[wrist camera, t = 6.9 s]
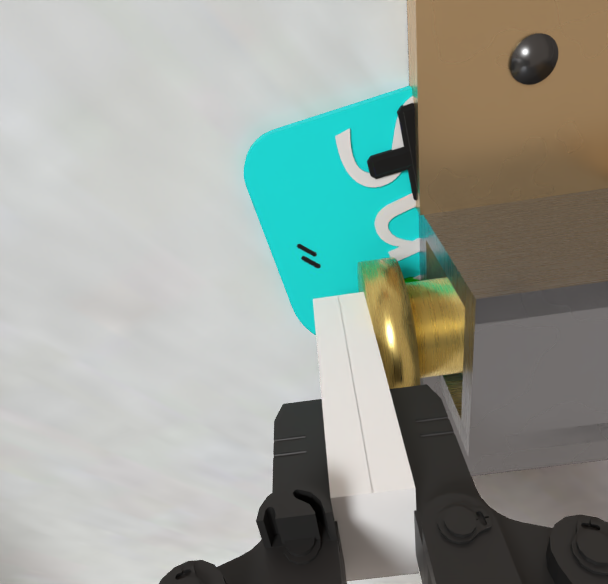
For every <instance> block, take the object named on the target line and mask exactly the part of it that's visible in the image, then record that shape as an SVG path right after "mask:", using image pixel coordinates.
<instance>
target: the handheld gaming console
mask: <svg viewBox="0 0 608 584" xmlns="http://www.w3.org/2000/svg"><path fill="white" fill-rule="evenodd" d="M244 179H245V183H246V187H247V189H248V192H249V195H250V197H251V200H252V203H253V205H254V208H255V211H256V213H257V216H258V218H259V221H260V224H261V226H262V229H263V232H264V234H265V237H266V239H267V242H268V245H269V247H270V250H271V253H272V255H273V258H274V260H275V263H276V266H277V268H278V271H279V274H280V276H281V279H282V281H283V284H284V287H285V289H286V292H287V295H288V297H289V300H290V303H291V305H292V308H293V310H294V312H295V314H296V316H297V317H298V319H299V320H300V322H301V323H302V324H303V325H304V326H305V327H306V328H307V329H308V330H309V331H310V332H312V333H313V334H315V335H316V330H315V319H314V307H313V299H315V298H323V297H330V296H337V295H344V294H351V293H359V289H358V273H357V267H358V262H361V261H369V260H376V259H383V258H390V257H394V258H395V259H396V260H397V262H398V264H399V266H400V269H401V271H402V274H403V277H404V281H405V283H408V282H415V281H420V257H419V251H420V238H419V213H418V211H417V209H416V208H415V207H416V200H417V181H416V138H415V107H414V103H413V96H412V88H411V87H410V86H407V87H404V88H401V89H398V90H395V91H392V92H388V93H385V94H382V95H379V96H376V97H373V98H370V99H367V100H364V101H361V102H357V103H354V104H351V105H348V106H345V107H342V108H339V109H336V110H333V111H329V112H326V113H323V114H320V115H317V116H314V117H311V118H308V119H305V120H302V121H298V122H295V123H292V124H289V125H286V126H283V127H280V128H277V129H274V130H271V131H269V132H267V133H265V134H263V135H262V136H260V137H259V138H258V139H257V140H256V141H255V142H254V143H253V145H252V146H251V147H250V149H249V151H248V154H247V156H246V161H245V165H244Z"/></svg>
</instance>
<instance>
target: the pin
mask: <svg viewBox="0 0 608 584" xmlns="http://www.w3.org/2000/svg"><path fill="white" fill-rule="evenodd" d="M357 273H358V289H359V292H364V295H365V299H366V302H367V306H368V310H369V314H370V318H371V322H372V325H373V329H374V333H375V336H376V340H377V344H378V348H379V351H380V355H381V359H382V363H383V367H384V370H385V374H386V378H387V382H388V386H389V389H394V388H402V387H409V386H417V385H420V378H425V377H432V376H440V375H448V374H456V373H463V353H464V325H465V307H464V305H463V303H462V302H461V300H460V298H459V296H458V295H457V293H456V291H455V289H454V288H453V286H452V284H451V282H450V281H449V279H448V277H444V278H437V279H430V280H423V281H415V282H408V283H405V281H404V277H403V274H402V271H401V269H400V266H399V264H398V262H397V260H396V259H395V258H394V257H390V258H383V259H376V260H369V261H361V262H358V267H357Z"/></svg>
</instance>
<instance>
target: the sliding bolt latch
mask: <svg viewBox="0 0 608 584" xmlns="http://www.w3.org/2000/svg"><path fill="white" fill-rule="evenodd" d="M407 19H408V54H409V86H410V87H411V88H412V96H413V103H414V107H415V138H416V181H417V200H416V207H415V208H416V209H417V211H418V213H419V238H420V251H419V257H420V281H423V280H430V279H437V278H444V277H448V279H449V281H450V282H451V284H452V286H453V288H454V289H455V291H456V293H457V295H458V296H459V298H460V300H461V302H462V303H463V305H464V307H465V325H464V353H463V373H456V374H448V375H440V376H432V377H425V378H420V385H425V384H427V385H428V386H429V387H430V388H431V389H432V390H433V391H434V392H435V393H436V394H437V395H438V396H439V397H440V398H441V399H442V402H443V404H444V407H445V410H446V412H447V415H448V419H449V420H450V423H451V425H452V428H453V430H454V434H455V436H456V438H457V441H458V443H459V446H460V448H461V451H462V454H463V456H464V459H465V461H466V464H467V467H468V469H469V472H470V474H471V476H475V475H483V474H492V473H500V472H508V471H517V470H525V469H533V468H542V467H550V466H558V465H567V464H575V463H583V462H592V461H600V460H608V0H407Z"/></svg>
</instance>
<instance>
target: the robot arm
mask: <svg viewBox="0 0 608 584" xmlns="http://www.w3.org/2000/svg"><path fill="white" fill-rule="evenodd" d="M313 307H314V319H315V330H316V341H317V352H318V364H319V375H320V386H321V397H322V399H318V400H311V401H303V402H295V403H287V404H283V405H282V407H281V409H280V411H279V413H278V415H277V417H276V419H275V421H274V458H273V493H272V494H270V495H269V496H268V497H267V498H266V500H265V501H264V502H263V504H262V505H261V507H260V508H259V512H258V516H257V520H256V522H257V525H258V528H259V531H260V535H261V538H262V540H261V541H260V542H259V543H258V544H257V545H256V546H255V547H254V548H253V549H252V550H250V551H249V552H247V553H245V554H244V555H242V556H240V557H238V558H236V559H233V560H231V561H229V562H227V563H225V564H223V565H221V566H218V567H216V566H215V565H214V564H211V563H208V562H206V561H203V560H197V561H188V562H185V563H183V564H181V565H179V566H177V567H174V568H173V569H172V570H171V571H170V572H169V573H168V574H167V575H166V576H164V577H163V578H162V579H161V581H160V583H159V584H347V581H353V580H362V579H371V578H380V577H389V576H398V575H407V574H416V573H419V571H420V575H421V579H422V584H608V523H607V522H605V521H603V520H601V519H599V518H596V517H590V516H585V515H575V516H569V517H565V518H563V519H562V520H560V521H559V522H558V523H556V524H555V525H554V527H553V528H549V527H543V526H538V525H533V524H528V523H522V522H519V521H515V520H512V519H509V518H507V517H505V516H503V515H501V514H499V513H497V512H496V511H495V510H493V509H492V508H491V507H489V506H488V505H487V504H486V503H485V501H484V500H483V499H482V498H481V497H480V495H479V493H478V491H477V489H476V487H475V485H474V482H473V480H472V477H471V474H470V472H469V469H468V467H467V464H466V461H465V459H464V456H463V454H462V451H461V448H460V446H459V443H458V441H457V438H456V436H455V434H454V430H453V428H452V425H451V423H450V420H449V419H448V415H447V412H446V410H445V407H444V404H443V402H442V399H441V398H440V397H439V396H438V395H437V394H436V393H435V392H434V391H433V390H432V389H431V388H430V387H429V386H428V385H427V384H425V385H417V386H409V387H402V388H394V389H389V386H388V382H387V378H386V374H385V370H384V367H383V363H382V359H381V355H380V351H379V348H378V344H377V340H376V336H375V333H374V329H373V325H372V322H371V318H370V314H369V310H368V306H367V302H366V299H365V295H364V292H359V293H351V294H344V295H337V296H330V297H323V298H315V299H313ZM418 567H419V569H418Z"/></svg>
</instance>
